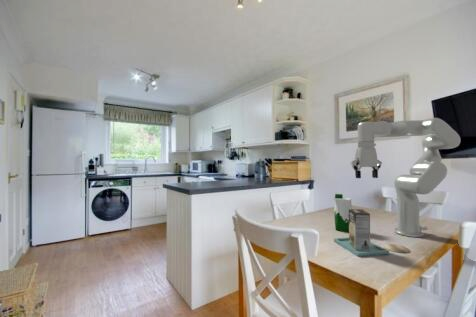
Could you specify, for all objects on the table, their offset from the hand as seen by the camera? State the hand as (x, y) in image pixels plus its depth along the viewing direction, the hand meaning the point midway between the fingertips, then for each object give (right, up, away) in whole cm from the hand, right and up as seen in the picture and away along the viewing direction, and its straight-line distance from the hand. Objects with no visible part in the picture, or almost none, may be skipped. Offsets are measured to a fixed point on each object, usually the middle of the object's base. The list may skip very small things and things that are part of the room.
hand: (366, 177), depth 118 cm
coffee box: (-13, -30, -17) cm, 37 cm away
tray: (-13, -30, -16) cm, 37 cm away
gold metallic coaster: (+3, -30, -18) cm, 35 cm away
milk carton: (-7, -31, +11) cm, 33 cm away
